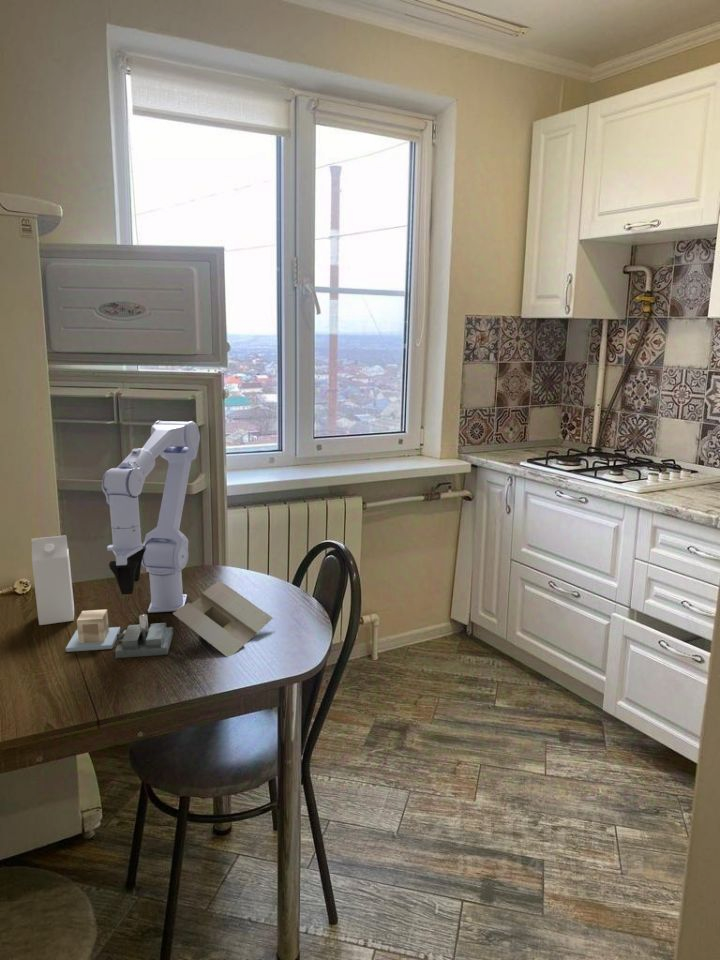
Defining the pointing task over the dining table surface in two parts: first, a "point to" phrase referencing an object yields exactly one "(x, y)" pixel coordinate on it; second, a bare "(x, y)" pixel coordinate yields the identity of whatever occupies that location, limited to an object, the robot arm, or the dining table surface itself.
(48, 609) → the milk carton
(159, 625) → the vise
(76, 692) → the dining table surface
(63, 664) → the dining table surface
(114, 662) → the dining table surface
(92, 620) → the wooden cube
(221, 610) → the beige slotted board
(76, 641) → the mat
